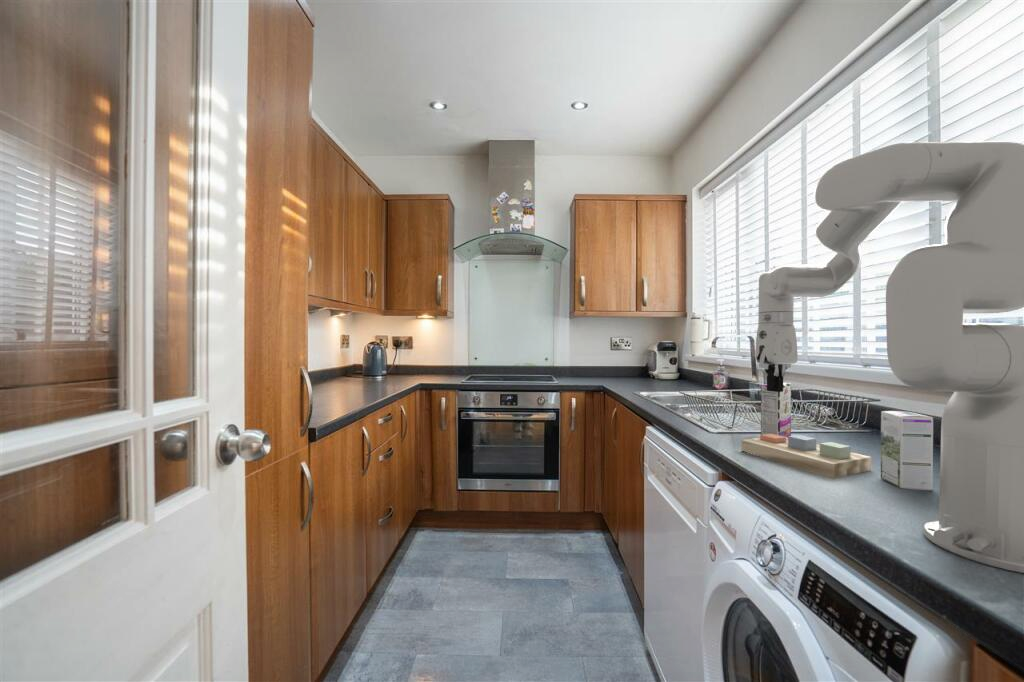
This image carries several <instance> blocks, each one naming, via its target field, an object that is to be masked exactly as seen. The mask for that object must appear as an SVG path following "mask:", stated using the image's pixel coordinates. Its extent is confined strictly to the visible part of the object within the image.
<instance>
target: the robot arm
mask: <svg viewBox="0 0 1024 682" xmlns="http://www.w3.org/2000/svg"><path fill="white" fill-rule="evenodd" d="M813 196H814V198H813V199H814V203H815V204H816V206H817V207H818V208H819V209H820V210H823V211H828V212H827V213H826V214H825V215H824V216H823V218H822V219H821V220H820V221H819V223H818V224H817V225H816V227H815V236H816V238H817V241H818V242H820V244H822V245H823V246H824V247H825V248H826V249H829V250H831V251H832V252H834V253H835V254H834V255H833V256H832V257H831V258H829V260H828V261H827V262H825V263H824V264H786V265H785V264H784V265H780V266H778V267H776V268H774V269H773V270H772V271H766V272H763V273H761V274H760V275H759V278H758V311H757V312H758V314H757V315H758V316H757V317H758V320H757V321H758V324H757V332H756V336H755V351H754V352H755V353H754V354H755V361H756V362H757V363H758V368H759V369H762V370H763V371H764V374H765V376H766V384H767V391H773V392H783V383H784V377H785V374H786V370H788V369H791V367H792V365H794V364H796V363H798V342H797V341H798V339H797V333H796V328H795V325H794V309H795V308H794V307H795V304H794V302H795V301H794V300H795V299H794V298H800V297H801V298H824V297H827V296H831V295H833V294H834V293H836V292H837V291H838V290H840V289H841V288H842V287H843V286H844V285H846V284H847V283H848V282H849V281H850V280H851V279H852V278H853V276H854V275H855V274H856V273H857V271H858V268H859V267H860V262H861V258H862V250H861V244H862V243H863V242H865V240H866V239H867V238H868V237H869V236H870V235H871V234H873V232H874V231H875V230H876V229H877V228H878V227H879V226H880V225H881V224H882V223H884V221H885V220H886V219H888V218H889V216H890V215H891V214H892V213H893V212H894V211H896V210H897V208H898V207H899V206H901V204H902V203H903V202H905V203H909V202H911V203H913V202H914V203H915V202H917V203H918V202H921V203H923V202H924V203H926V202H930V203H931V202H955V203H954V205H953V206H952V207H951V209H950V211H949V213H948V215H947V216H946V220H945V223H944V236H945V237H944V244H931V245H925V246H921V247H917V248H915V249H913V250H911V251H909V252H907V253H906V254H904V255H903V256H902V257H900V258H899V259H898V260H897V262H896V263H895V264H894V266H893V268H892V269H891V271H890V273H889V274H888V278H887V280H886V288H885V319H886V321H885V322H886V323H885V324H886V326H885V327H886V353H887V360H888V365H889V367H890V369H891V372H892V373H893V375H894V377H896V378H897V380H898V381H900V383H901V384H904V385H905V386H908V387H910V388H913V389H915V390H919V391H920V390H921V391H925V392H946V393H949V392H953V394H952V395H951V396H950V398H949V400H948V401H947V403H946V405H945V407H944V409H943V412H942V415H941V416H942V417H941V424H940V425H941V426H940V460H939V462H940V465H939V499H938V500H939V506H938V507H939V509H938V511H939V512H938V520H935V521H928V522H926V523H924V525H923V534H924V536H925V537H926V538H927V539H928V540H929V541H930V542H932V543H933V544H935V545H937V546H939V547H940V548H942V549H945V551H946V550H947V551H949V552H951V553H953V554H956V555H959V556H960V557H963V558H966V559H969V560H972V561H975V562H978V563H982V564H984V565H987V566H992V567H995V568H1000V569H1004V570H1007V571H1011V572H1012V571H1013V572H1015V573H1023V574H1024V325H1020V324H1015V323H1004V322H1003V323H1002V322H1001V323H999V322H964V314H998V313H999V314H1000V313H1009V312H1014V311H1018V310H1020V309H1022V308H1024V143H1019V142H1011V141H940V142H939V141H937V142H936V141H933V142H931V141H929V142H928V141H925V142H923V141H922V142H921V141H918V142H917V141H914V142H913V141H912V142H899V143H893V144H890V145H886V146H882V147H880V148H877V149H874V150H871V151H868V152H865V153H863V154H860V155H857V156H854V157H851V158H848V159H846V160H843V161H840V162H838V163H837V164H834V165H833V166H832V167H830V168H829V169H828V170H827V171H826V172H825V173H824V174H823V175H822V176H821V177H820V179H819V180H818V182H817V184H816V186H815V188H814V192H813Z"/></svg>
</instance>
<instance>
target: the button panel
mask: <svg viewBox="0 0 1024 682" xmlns="http://www.w3.org/2000/svg"><path fill="white" fill-rule="evenodd" d="M742 451H745V452H748V453H747V454H749V453H752V454H755V455H754V456H756V455H758V456H757V457H759V456H761V457H760V458H762V457H764V459H766V458H768V459H767V460H769V459H770V461H773V462H775V463H779V462H780V464H784V465H787V466H790V467H793V468H796V467H797V468H796V469H800V470H804V471H806V472H811V473H813V474H814V473H815V474H818V475H821V476H824V477H827V478H831V479H836V478H841V477H846V476H850V475H856V474H861V473H865V472H870V471H872V463H873V461H872V458H873V457H872V456H869V455H863V454H860V453H856V452H852V451H851V458H849V459H844V460H838V459H834V458H830V457H826V456H823V455H820V444H818V443H816V450H811V451H803V450H799V449H795V448H791V447H788V438H787V437H786V442H785V443H778V444H775V443H771V442H767V441H763V440H760V437H754V438H746V439H741V452H742ZM745 452H744V453H745ZM752 454H751V455H752Z"/></svg>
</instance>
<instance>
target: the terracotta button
mask: <svg viewBox="0 0 1024 682" xmlns="http://www.w3.org/2000/svg"><path fill="white" fill-rule="evenodd" d="M759 438H760V440H763V441H767V442H771V443H775V444H778V443H785V442H786V437H783V436H779V435H775V434H763V435H761V434H760V436H759Z"/></svg>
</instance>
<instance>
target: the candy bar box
mask: <svg viewBox="0 0 1024 682" xmlns="http://www.w3.org/2000/svg"><path fill="white" fill-rule="evenodd" d="M791 431H792V383H791V382H790V383H789V382H783V392H773V391H767V383H763V384H761V385H760V436H761V435H763V434H775V435H779V436H783V437H787V438H788V436H792V432H791Z"/></svg>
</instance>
